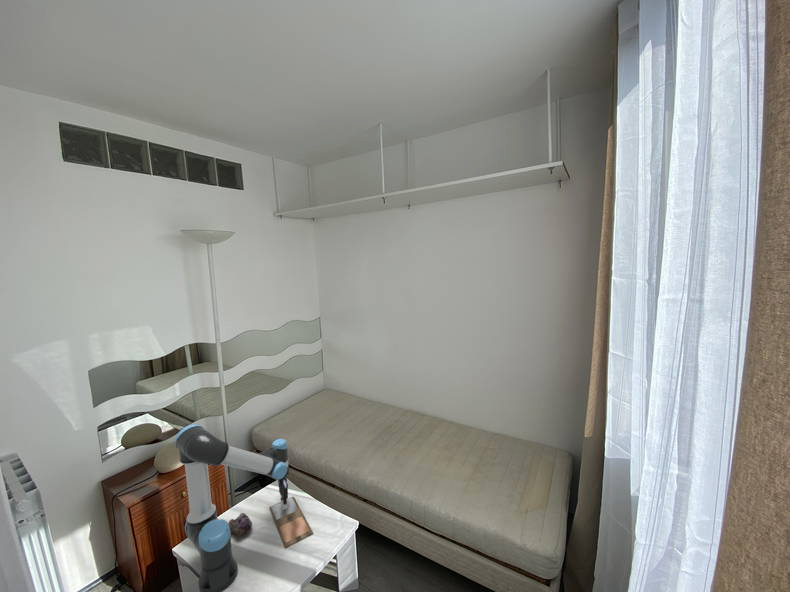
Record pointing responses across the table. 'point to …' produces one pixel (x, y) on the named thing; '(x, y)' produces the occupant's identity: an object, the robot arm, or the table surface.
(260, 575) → the table surface
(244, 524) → the rock
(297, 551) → the table surface
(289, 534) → the board
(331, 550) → the table surface
